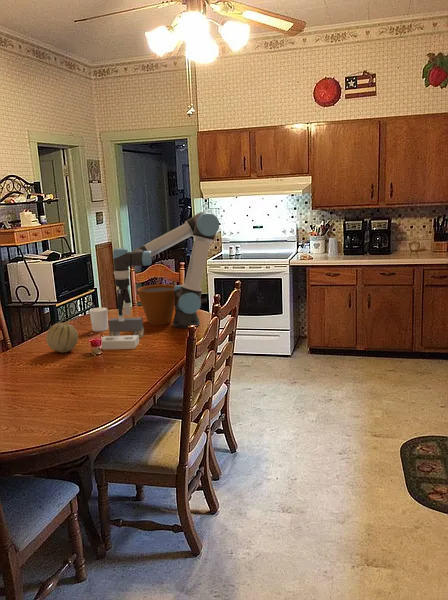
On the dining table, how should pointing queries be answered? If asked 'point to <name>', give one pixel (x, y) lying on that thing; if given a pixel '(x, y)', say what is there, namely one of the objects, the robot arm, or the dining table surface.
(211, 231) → the robot arm
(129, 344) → the hole board
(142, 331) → the wooden rests
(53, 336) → the cantaloupe
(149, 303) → the flower pot
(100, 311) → the white cylinder
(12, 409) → the dining table surface
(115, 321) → the peg strip
